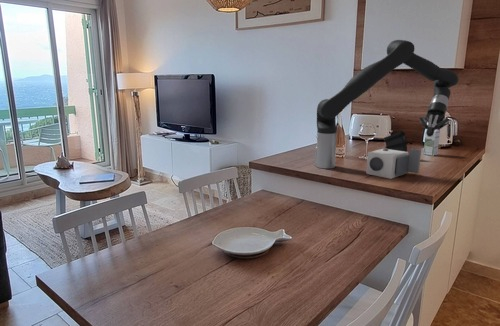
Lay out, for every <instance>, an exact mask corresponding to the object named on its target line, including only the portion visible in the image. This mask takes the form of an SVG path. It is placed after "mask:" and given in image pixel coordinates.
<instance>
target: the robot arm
mask: <svg viewBox="0 0 500 326" xmlns="http://www.w3.org/2000/svg"><path fill="white" fill-rule="evenodd" d="M386 54H387V55H386V56H385V57H383V58H382V59H380V60H378V61H376V62H374V63H372V64H369V65H367V66H366V67H364V68H362V69H361V70H360V71H358V72H357V73H356V74H355V75H353V77H351V79H349V81H348V82H347V83H346V84H345V85H344V87H343V88H342V89H341V90H340V91H339V92H338V93H336V94H335V95H333V96H331V97H330V98H325V99H322V100H321V101H319V103H318V105H317V108H316V128H317V131H316V135H317V136H316V137H317V138H316V147H314V167H316V168H319V169H334V168H335V167H336V152H337V132H338V131H337V130H338V128H337V123H336V117H337V116H338V115H339V114H340V113H341V112H342V111H343V110H344V109H345V108H346V107H348V105H350V103H352V102H353V101H355V100H356V99H357V98H359V97H360V96H362V95H363V94H365V93H366V92H367V91H368V90H370V89H371V88H372V87H373V86H375V84H377V83H378V82H379V81H380V80H382V79H384V77H386V76H387V75H388V74H389V73H390V72H393V70H395V69H397V68H398V67H399V66H402V65H405V66H407V67H409V68H411V69H413V70H414V71H415V72H417V73H418V74H420V75H421V76H423V77H424V78H426V79H427V80H429V81H431V82H433V90H434V91H433V95H432V99H431V100H430V103H429V107H428V110H427V112H426V114H425V116H424V117H419V118H418V119H419V122H420V124H421V125H422V126H423V128H424V129H425V130H427V132H426V131H425V133H427V135H428V136H432V135H433V134H434V131H435V130H441V129H442V128H444V127H446V126H447V125H448V124H449V123H450V121H449V118H446V112H447V109H448V107H449V101H450V97H451V89H450V88H451V87H454V86H457V84H458V83H459V77H458V74H457V73H456V72H454V71H452V70H451V69H446V68H443V67H440V66H438V65H437V64H436V63H434V62H432V61H430V60H429V59H426V58H425V57H422V56H420V55H418V54H416V53H415V44H414V43H413V42H411V41H410V40H403V39H396V40H393V41H391V42H390V43H389V44H388V45H387V48H386Z"/></svg>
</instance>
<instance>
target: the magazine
mask: <svg viewBox="0 0 500 326" xmlns="http://www.w3.org/2000/svg"><path fill="white" fill-rule="evenodd" d="M383 142H385V145H386V146H385V148H387V149H390V150H397V151H404V152H408V145H407V144H408V143H409V142H408V141H407V139H406V132H404V131H403V130H400V131H398V132H396V133H393V134H390V135H387V136H385V137H383Z"/></svg>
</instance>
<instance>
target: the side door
mask: <svg viewBox="0 0 500 326" xmlns="http://www.w3.org/2000/svg"><path fill="white" fill-rule="evenodd" d="M408 151H409V152H408V155H405V156H402V157H398V158H397V165H396V176H398V177H399V175H400V176H403V175H405V173H406V174H408V173H414V174H419V172H420V164H421V154H422V150H421V149H418V148H417V149H416V148H409V150H408ZM402 174H403V175H402Z"/></svg>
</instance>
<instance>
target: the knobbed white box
mask: <svg viewBox="0 0 500 326" xmlns="http://www.w3.org/2000/svg"><path fill="white" fill-rule="evenodd" d="M405 155H409V152H408V151H407V152H404V151H397V150H390V149H387V148H384V147H383V148H381V149H376V150H373V151H372V150H370V151H368V152H367V155H366V156H367V158H366V159H367V160H366V173H365V174H367V175H371V176H376V177H381V178H384V179H390V180H391V179H394V178H397V177H399V176H403V175H405V174H407V173H405V174H402V175H399V176H396V165H397V158H398V157H402V156H405Z"/></svg>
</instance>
